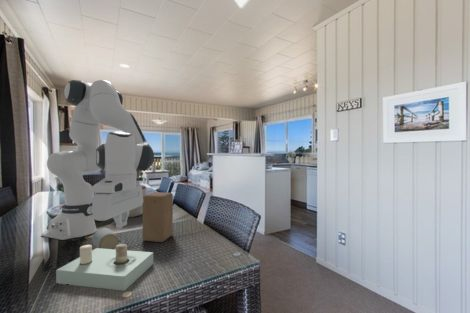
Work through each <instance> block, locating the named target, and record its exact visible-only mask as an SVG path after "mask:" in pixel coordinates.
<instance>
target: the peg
mask: <svg viewBox="0 0 470 313" xmlns="http://www.w3.org/2000/svg"><path fill="white" fill-rule="evenodd" d="M115 250H116V265H123V264H126V263H127V250H128V244H126V243H124V244H119V245H117V246H116V247H115Z"/></svg>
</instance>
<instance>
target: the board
mask: <svg viewBox="0 0 470 313" xmlns="http://www.w3.org/2000/svg"><path fill="white" fill-rule="evenodd" d="M92 245H93V244H85V245H81V246H80V247H79V257H77V258H75V259H74V260H72V261H70V262H67V263H66V264H65V265H63V266H61V267H59V268H57V269H56V270H55V273H56V276H55V279H56V282H55V283H56V284H57V283H58V285H66V284H69V285H68V286H77V287H88V288H96V289H105V290H114V291H115V290H116V291H126V290H127V289H128V288H130V287H131V285H132V284H134V283H135V282H136V281H137V280H138V279H140V277H141V276H142V275H144V273H145V272H147V270H149V268H151V267H152V266H153V265H154V252H153V251H152V252H151V251H140V250H139V251H138V250H128V249H127V263H126V264H123V265H116V248H114V249H102V248H97V247H96V248H94V249H93V246H92Z"/></svg>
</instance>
